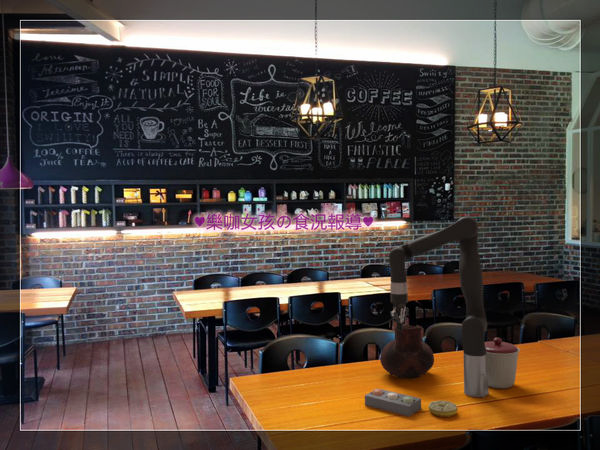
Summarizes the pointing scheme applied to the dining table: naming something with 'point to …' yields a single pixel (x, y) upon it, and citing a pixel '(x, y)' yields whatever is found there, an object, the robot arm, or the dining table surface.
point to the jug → (407, 354)
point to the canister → (501, 363)
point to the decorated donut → (443, 408)
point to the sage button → (408, 399)
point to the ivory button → (392, 396)
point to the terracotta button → (377, 392)
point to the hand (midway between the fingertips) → (399, 330)
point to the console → (393, 403)
